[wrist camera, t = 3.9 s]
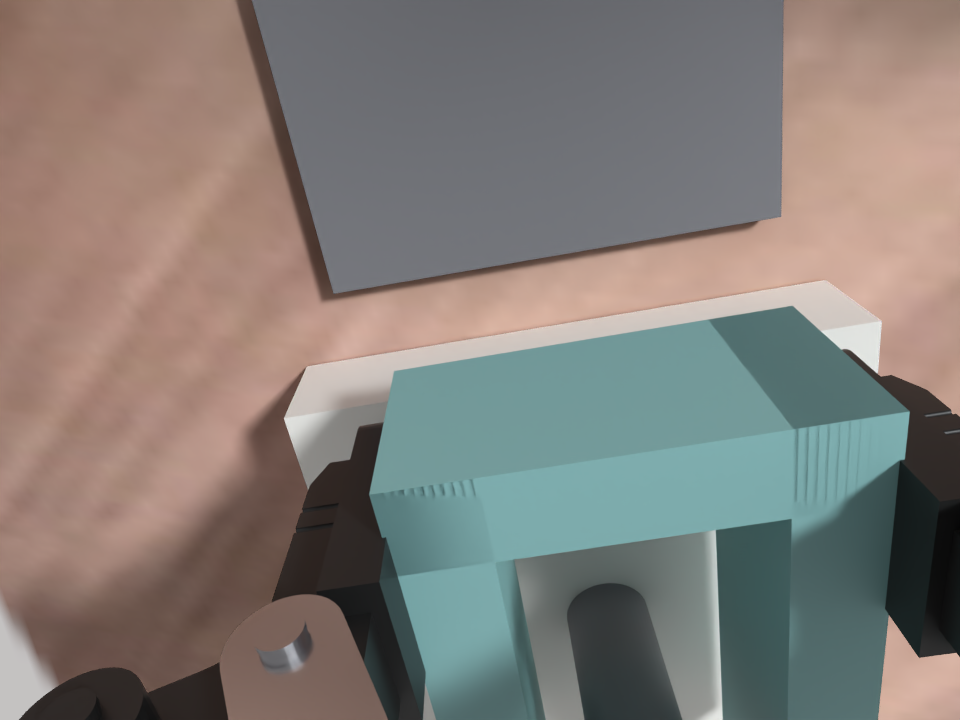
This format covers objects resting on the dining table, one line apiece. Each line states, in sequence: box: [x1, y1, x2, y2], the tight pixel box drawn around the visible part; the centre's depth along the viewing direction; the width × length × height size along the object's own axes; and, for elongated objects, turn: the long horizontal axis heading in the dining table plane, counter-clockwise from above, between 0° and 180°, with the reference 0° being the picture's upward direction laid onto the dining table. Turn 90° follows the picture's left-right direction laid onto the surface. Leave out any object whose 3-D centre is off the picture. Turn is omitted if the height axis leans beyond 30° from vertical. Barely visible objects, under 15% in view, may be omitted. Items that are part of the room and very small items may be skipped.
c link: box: [369, 306, 910, 720], centre depth 11 cm, size 9×6×3 cm, turn 10°
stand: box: [284, 280, 882, 720], centre depth 12 cm, size 11×10×9 cm
